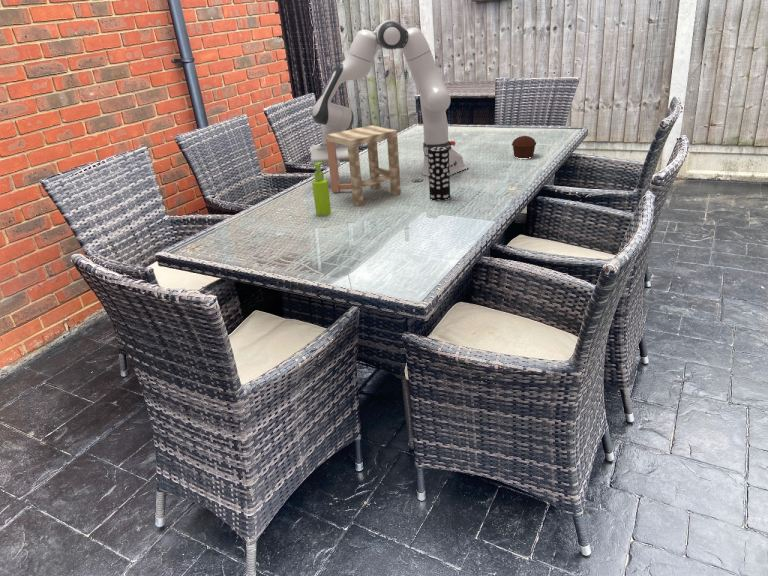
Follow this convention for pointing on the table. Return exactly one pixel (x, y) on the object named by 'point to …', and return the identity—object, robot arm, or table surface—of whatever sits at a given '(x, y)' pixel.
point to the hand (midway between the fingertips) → (334, 170)
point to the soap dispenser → (321, 192)
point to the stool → (370, 158)
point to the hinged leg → (334, 168)
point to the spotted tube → (439, 173)
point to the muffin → (524, 147)
